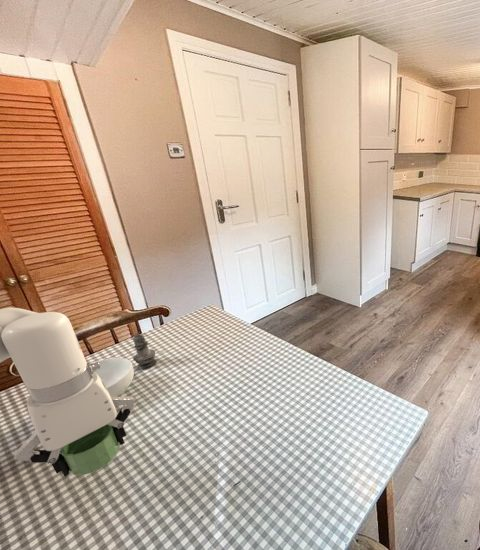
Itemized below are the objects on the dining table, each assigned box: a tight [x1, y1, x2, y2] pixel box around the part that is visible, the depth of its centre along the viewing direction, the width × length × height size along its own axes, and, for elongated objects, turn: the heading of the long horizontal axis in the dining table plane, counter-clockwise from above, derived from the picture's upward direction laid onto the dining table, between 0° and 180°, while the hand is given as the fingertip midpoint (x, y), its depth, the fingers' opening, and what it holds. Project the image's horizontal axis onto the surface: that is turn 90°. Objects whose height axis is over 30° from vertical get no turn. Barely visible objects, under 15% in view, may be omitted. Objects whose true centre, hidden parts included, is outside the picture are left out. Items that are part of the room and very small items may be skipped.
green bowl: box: [60, 424, 121, 476], centre depth 57 cm, size 7×7×6 cm
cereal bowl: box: [89, 357, 135, 397], centre depth 83 cm, size 17×17×7 cm
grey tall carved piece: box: [132, 332, 158, 371], centre depth 95 cm, size 6×6×12 cm
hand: (94, 454), depth 58 cm, fingers closed on green bowl, 7 cm apart
